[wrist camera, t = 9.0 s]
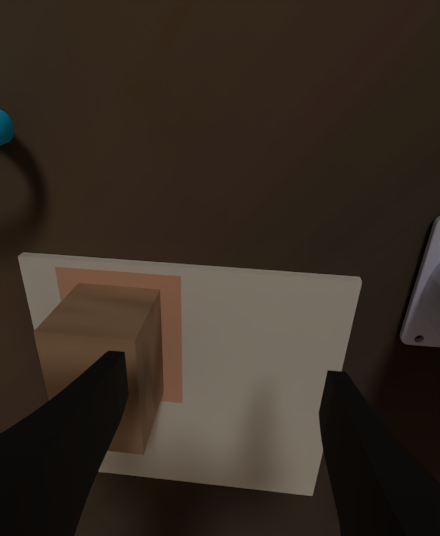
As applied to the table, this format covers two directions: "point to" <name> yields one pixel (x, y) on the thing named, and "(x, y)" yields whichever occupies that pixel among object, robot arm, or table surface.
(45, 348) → the box
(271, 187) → the table surface
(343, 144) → the table surface
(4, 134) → the mug
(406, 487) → the robot arm
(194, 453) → the card mat
